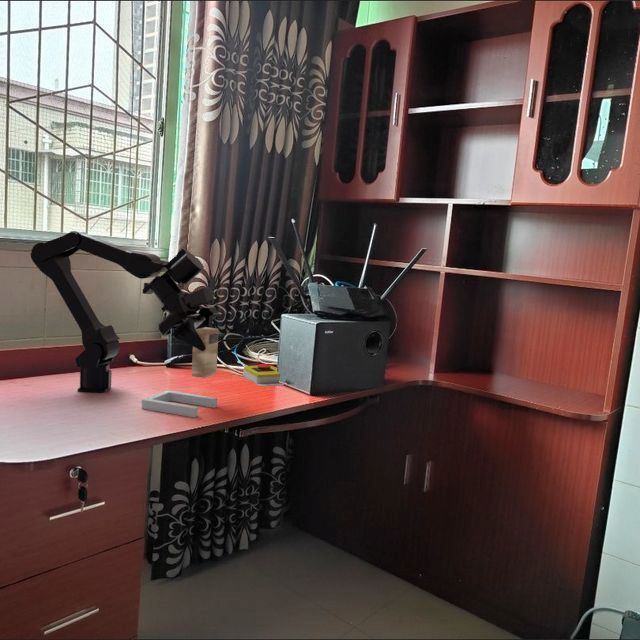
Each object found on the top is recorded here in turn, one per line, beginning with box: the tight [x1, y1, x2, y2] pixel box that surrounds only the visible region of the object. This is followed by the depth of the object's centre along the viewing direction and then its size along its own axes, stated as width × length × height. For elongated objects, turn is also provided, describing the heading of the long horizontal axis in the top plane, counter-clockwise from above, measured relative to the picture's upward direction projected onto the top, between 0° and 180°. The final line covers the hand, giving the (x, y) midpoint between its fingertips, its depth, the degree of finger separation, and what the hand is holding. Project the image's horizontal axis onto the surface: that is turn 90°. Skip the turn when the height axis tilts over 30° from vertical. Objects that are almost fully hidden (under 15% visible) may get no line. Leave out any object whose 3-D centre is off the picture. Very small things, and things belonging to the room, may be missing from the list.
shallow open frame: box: [141, 390, 218, 418], centre depth 142 cm, size 14×10×2 cm
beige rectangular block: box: [191, 327, 220, 379], centre depth 145 cm, size 4×6×11 cm
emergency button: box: [242, 363, 285, 387], centre depth 176 cm, size 9×4×15 cm
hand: (210, 348), depth 145 cm, fingers closed on beige rectangular block, 5 cm apart
